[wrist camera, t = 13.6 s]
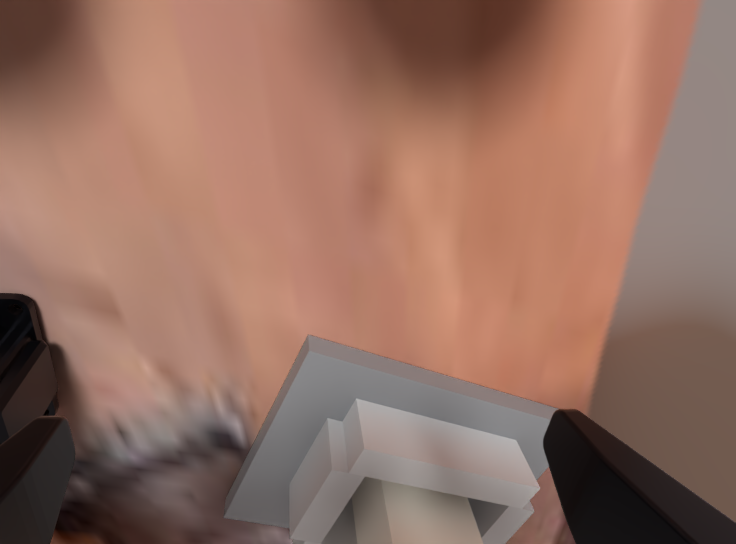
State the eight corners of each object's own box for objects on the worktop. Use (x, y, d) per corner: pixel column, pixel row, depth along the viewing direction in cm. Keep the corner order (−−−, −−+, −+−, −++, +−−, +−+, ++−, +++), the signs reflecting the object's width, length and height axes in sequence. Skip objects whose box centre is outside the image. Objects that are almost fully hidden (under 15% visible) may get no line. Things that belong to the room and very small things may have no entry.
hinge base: (225, 498, 28) (216, 574, 24) (308, 334, 23) (311, 399, 19) (463, 538, 33) (485, 607, 29) (570, 412, 28) (612, 475, 24)
